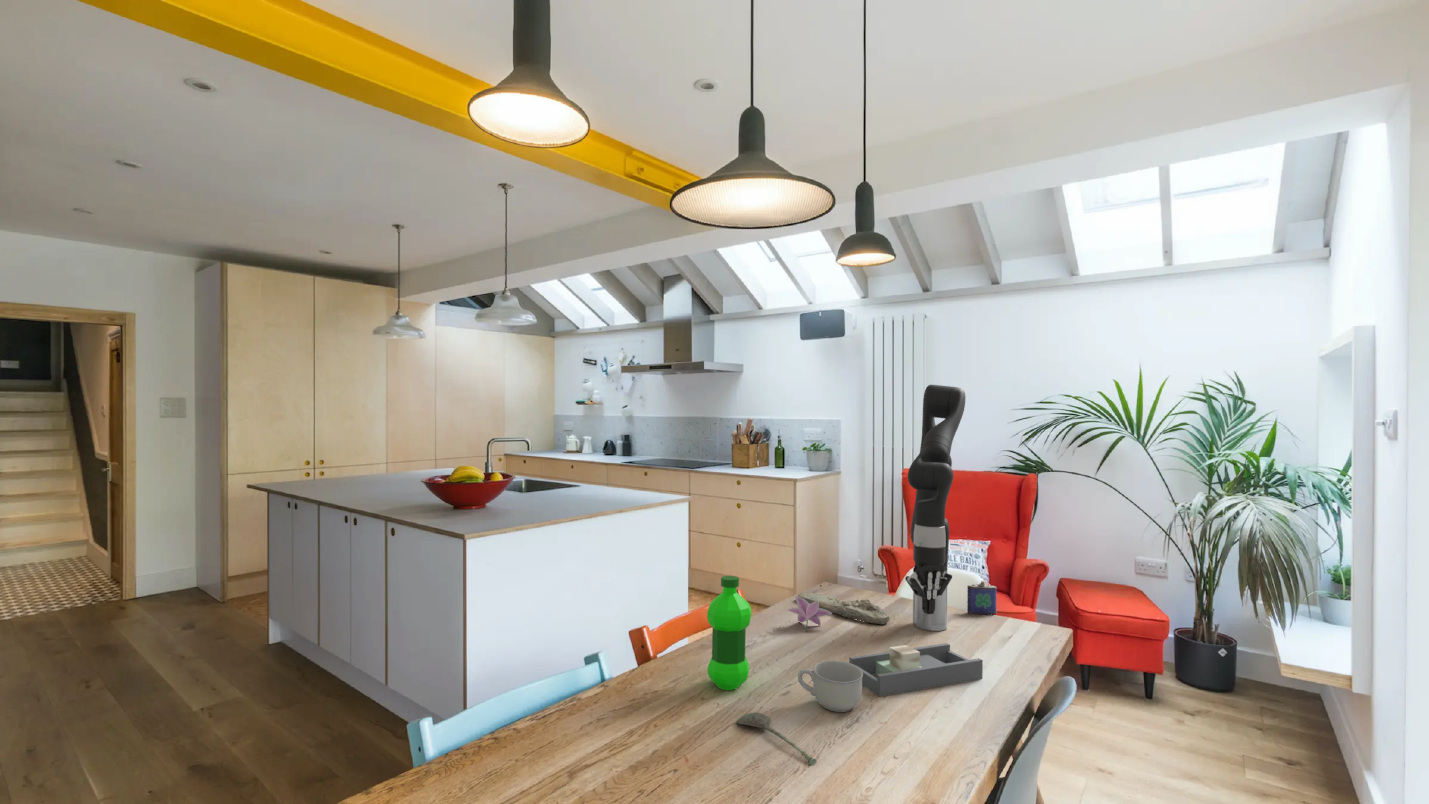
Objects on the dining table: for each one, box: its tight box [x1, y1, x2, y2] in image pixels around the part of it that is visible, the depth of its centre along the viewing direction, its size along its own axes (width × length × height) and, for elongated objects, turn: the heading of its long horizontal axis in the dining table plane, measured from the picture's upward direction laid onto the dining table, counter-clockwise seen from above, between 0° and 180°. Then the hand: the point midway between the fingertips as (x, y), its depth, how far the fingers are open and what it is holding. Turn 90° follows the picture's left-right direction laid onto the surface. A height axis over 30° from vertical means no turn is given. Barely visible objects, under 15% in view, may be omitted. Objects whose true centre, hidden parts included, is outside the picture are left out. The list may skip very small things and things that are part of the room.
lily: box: [787, 595, 833, 632], centre depth 195 cm, size 12×12×10 cm
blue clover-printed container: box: [966, 580, 998, 616], centre depth 213 cm, size 9×3×11 cm, turn 88°
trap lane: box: [848, 643, 984, 697], centre depth 160 cm, size 12×30×4 cm, turn 112°
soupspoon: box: [735, 712, 818, 766], centre depth 128 cm, size 22×3×7 cm
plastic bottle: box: [706, 575, 752, 691], centre depth 153 cm, size 10×10×25 cm
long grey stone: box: [797, 591, 891, 625], centre depth 213 cm, size 35×5×10 cm
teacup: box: [797, 659, 863, 713], centre depth 144 cm, size 14×11×8 cm
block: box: [889, 644, 920, 671], centre depth 159 cm, size 5×5×4 cm
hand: (928, 613), depth 162 cm, fingers closed
